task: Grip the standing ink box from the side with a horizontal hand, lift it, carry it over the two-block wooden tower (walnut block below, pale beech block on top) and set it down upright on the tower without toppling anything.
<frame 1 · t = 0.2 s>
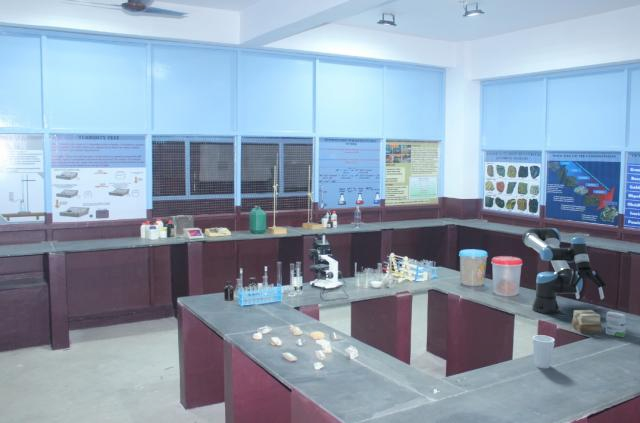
hand: (590, 298, 315), 15 cm above the table, tool tilted 35°, fingers open, 13 cm apart
bottom block: (585, 330, 310), on the table, touching top block
ink box: (615, 335, 302), on the table
foam cup: (542, 366, 261), on the table
top block: (586, 321, 309), point 5 cm above the table, touching bottom block
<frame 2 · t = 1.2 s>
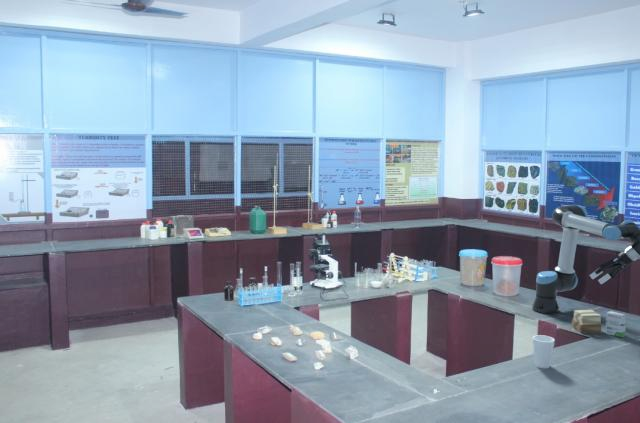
hand: (595, 280, 310), 27 cm above the table, tool tilted 45°, fingers open, 13 cm apart
nothing on the table moved.
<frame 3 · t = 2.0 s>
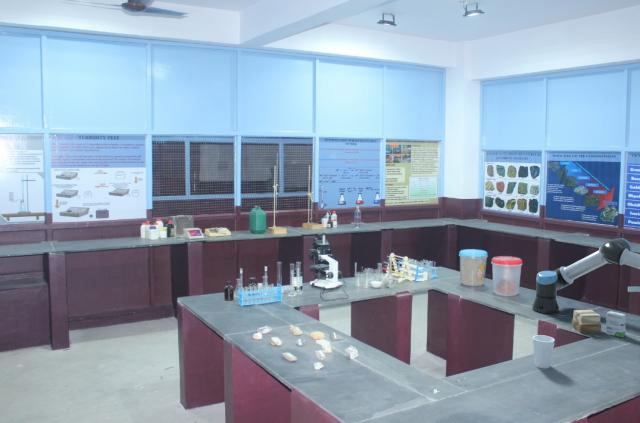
hand: (634, 292, 299), 23 cm above the table, tool horizontal, fingers open, 13 cm apart
nothing on the table moved.
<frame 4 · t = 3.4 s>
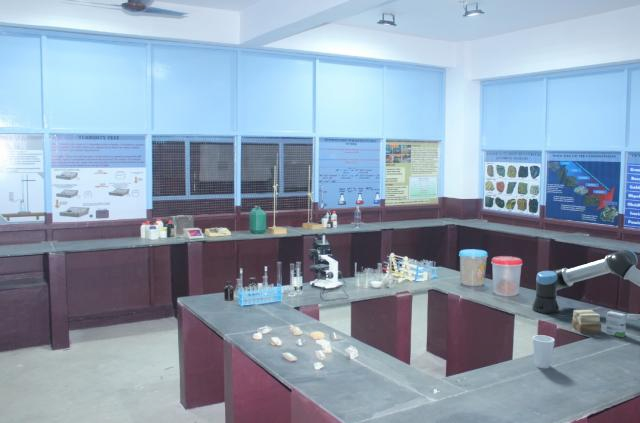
hand: (634, 320, 301), 8 cm above the table, tool horizontal, fingers open, 13 cm apart
nothing on the table moved.
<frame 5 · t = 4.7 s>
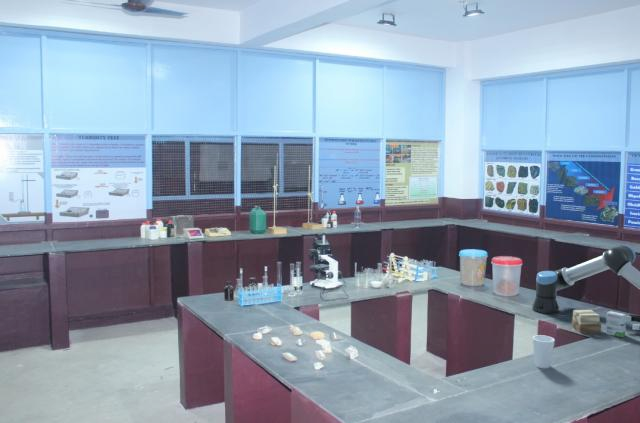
hand: (625, 322, 301), 7 cm above the table, tool horizontal, fingers open, 13 cm apart
nothing on the table moved.
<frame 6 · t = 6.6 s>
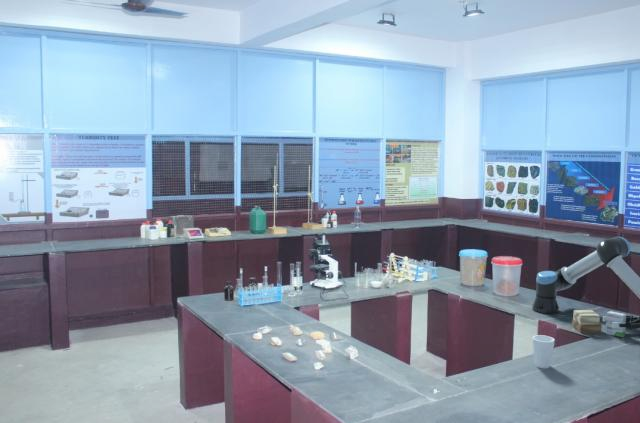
hand: (607, 321, 301), 7 cm above the table, tool horizontal, fingers closed on ink box, 9 cm apart
ink box: (615, 334, 302), on the table, touching gripper
everything else where it was.
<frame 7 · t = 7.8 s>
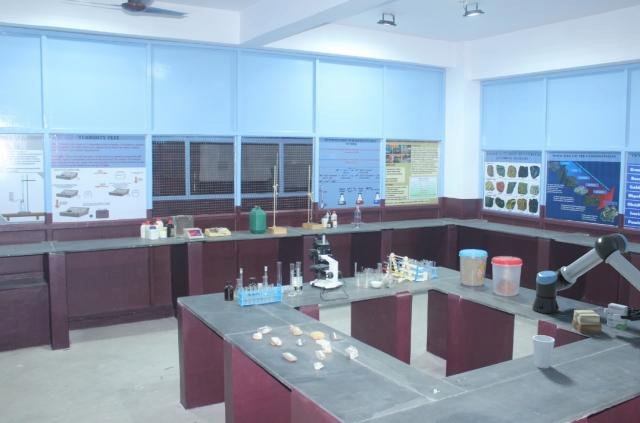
hand: (609, 313, 300), 12 cm above the table, tool horizontal, fingers closed on ink box, 9 cm apart
ink box: (616, 326, 301), point 4 cm above the table, touching gripper
everything else where it was.
when the fingers open (18 cm above the table, at t = 12.3 s): ink box drops 2 cm, resting on top block.
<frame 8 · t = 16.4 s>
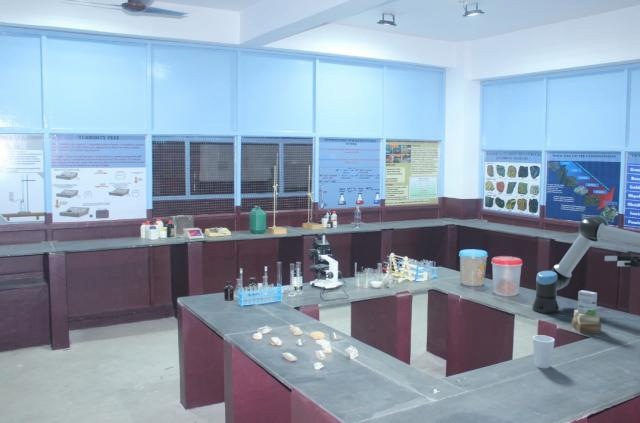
hand: (611, 260, 307), 38 cm above the table, tool horizontal, fingers open, 13 cm apart
ink box: (586, 313, 309), point 9 cm above the table, touching top block
top block: (586, 321, 310), point 5 cm above the table, touching bottom block, ink box
everything else where it was.
at the end: ink box 0.4 cm from the top block (horizontally); ink box point 9.3 cm above the table; ink box tilted 0° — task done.
